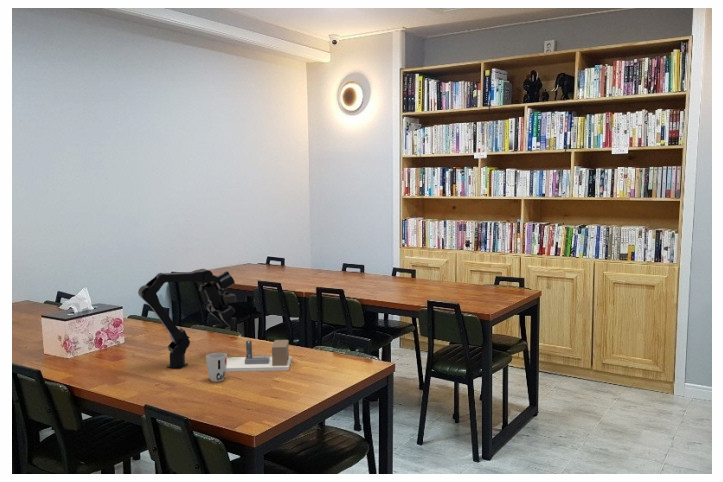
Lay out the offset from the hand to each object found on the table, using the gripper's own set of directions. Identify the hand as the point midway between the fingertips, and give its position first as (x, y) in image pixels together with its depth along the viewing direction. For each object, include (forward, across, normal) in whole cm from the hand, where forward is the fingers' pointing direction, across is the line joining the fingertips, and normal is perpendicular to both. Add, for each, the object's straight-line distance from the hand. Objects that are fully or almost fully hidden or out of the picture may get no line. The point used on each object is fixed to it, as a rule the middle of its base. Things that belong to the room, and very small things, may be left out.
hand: (227, 324), depth 274 cm
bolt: (+14, -19, 0) cm, 24 cm away
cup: (+7, -27, +21) cm, 35 cm away
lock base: (+15, -19, +2) cm, 24 cm away
